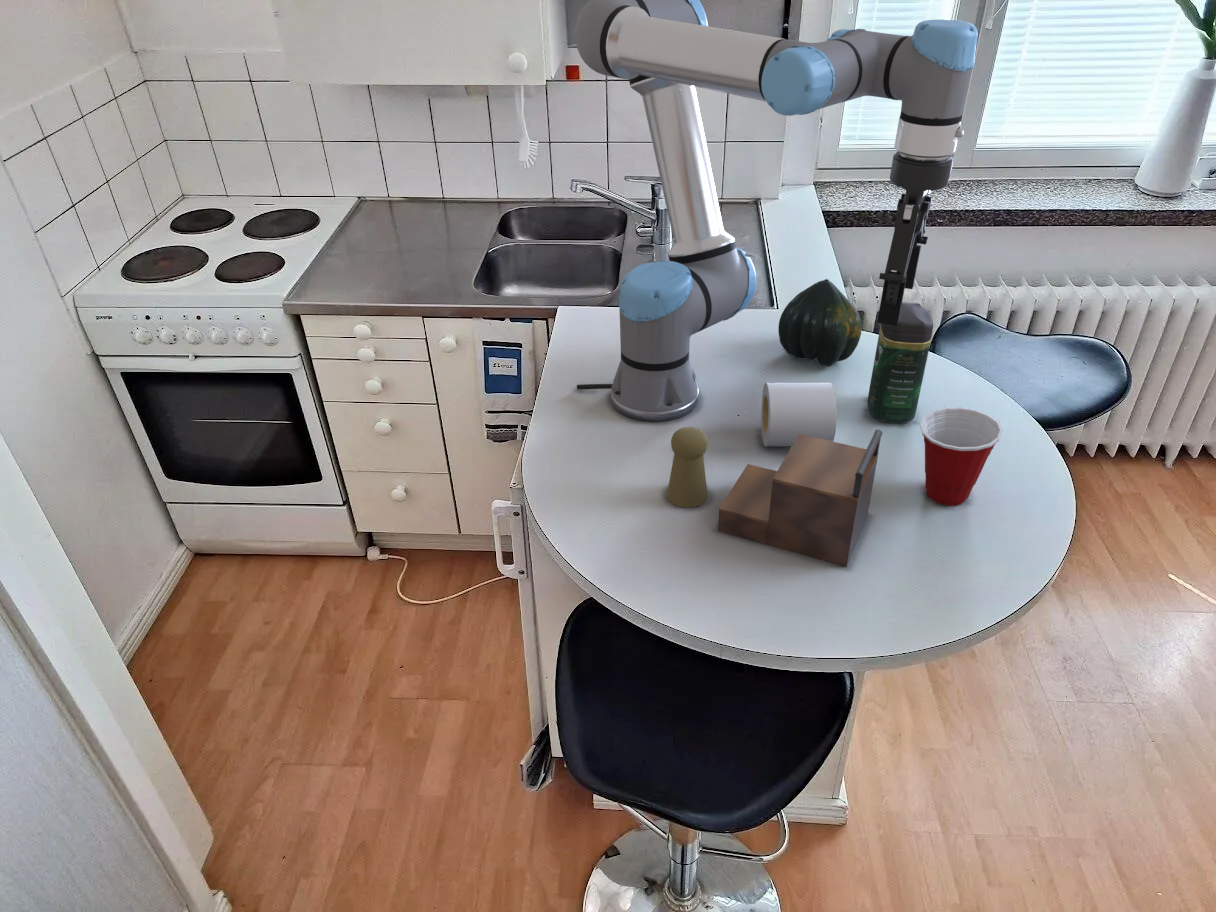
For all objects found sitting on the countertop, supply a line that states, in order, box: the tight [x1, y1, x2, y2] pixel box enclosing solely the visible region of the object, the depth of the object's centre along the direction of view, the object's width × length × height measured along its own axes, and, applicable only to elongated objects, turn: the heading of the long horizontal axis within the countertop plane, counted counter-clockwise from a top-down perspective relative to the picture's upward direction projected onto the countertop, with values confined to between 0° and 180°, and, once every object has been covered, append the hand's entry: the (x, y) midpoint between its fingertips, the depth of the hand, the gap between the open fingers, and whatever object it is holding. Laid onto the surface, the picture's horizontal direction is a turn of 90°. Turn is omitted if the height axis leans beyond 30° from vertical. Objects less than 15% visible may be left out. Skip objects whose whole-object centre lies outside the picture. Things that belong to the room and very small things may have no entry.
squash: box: [777, 278, 863, 367], centre depth 162 cm, size 14×15×15 cm
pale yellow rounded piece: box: [666, 426, 709, 509], centre depth 125 cm, size 6×6×11 cm
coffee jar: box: [866, 301, 934, 424], centre depth 142 cm, size 10×8×19 cm
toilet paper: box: [760, 382, 838, 447], centre depth 137 cm, size 10×10×10 cm
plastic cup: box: [918, 406, 1004, 507], centre depth 124 cm, size 11×11×12 cm
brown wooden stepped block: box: [717, 429, 883, 568], centre depth 118 cm, size 18×12×15 cm, turn 63°
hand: (895, 304), depth 125 cm, fingers open, 13 cm apart
